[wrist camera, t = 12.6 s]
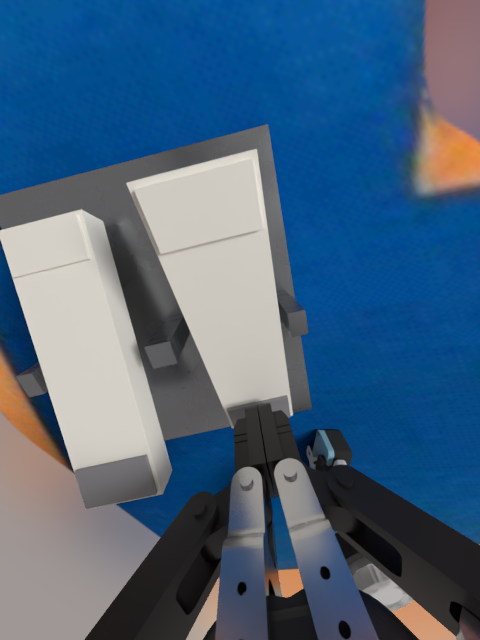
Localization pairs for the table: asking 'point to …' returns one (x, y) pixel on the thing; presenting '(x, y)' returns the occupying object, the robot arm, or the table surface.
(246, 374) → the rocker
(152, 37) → the table surface
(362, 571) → the push button
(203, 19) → the table surface
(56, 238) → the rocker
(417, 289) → the table surface
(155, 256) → the switch unit
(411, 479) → the table surface
